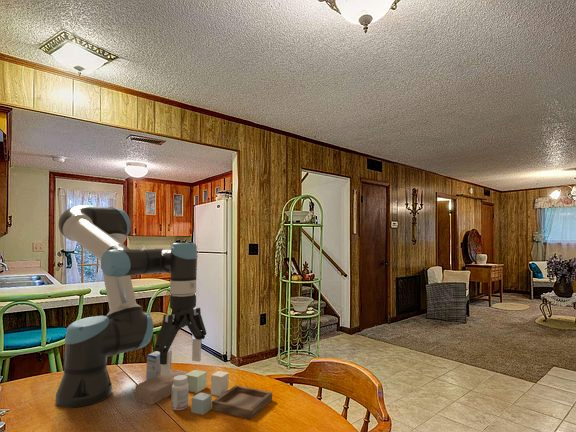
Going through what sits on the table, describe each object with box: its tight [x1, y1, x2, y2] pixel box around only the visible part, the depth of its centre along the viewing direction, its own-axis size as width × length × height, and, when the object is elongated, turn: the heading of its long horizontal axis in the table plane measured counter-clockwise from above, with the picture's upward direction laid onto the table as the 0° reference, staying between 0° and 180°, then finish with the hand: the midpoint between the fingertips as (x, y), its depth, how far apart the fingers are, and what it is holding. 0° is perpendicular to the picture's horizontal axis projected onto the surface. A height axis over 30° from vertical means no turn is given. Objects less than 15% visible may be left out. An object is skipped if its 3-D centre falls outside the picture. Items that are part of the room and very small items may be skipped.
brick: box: [133, 368, 189, 405], centre depth 116 cm, size 17×8×5 cm, turn 155°
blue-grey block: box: [190, 391, 213, 415], centre depth 104 cm, size 4×4×4 cm
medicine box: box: [145, 349, 173, 380], centre depth 128 cm, size 8×4×9 cm, turn 158°
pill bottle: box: [170, 375, 189, 411], centre depth 106 cm, size 5×5×8 cm
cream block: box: [210, 370, 230, 397], centre depth 115 cm, size 4×4×6 cm
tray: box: [211, 384, 273, 420], centre depth 107 cm, size 13×13×2 cm
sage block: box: [185, 369, 208, 394], centre depth 119 cm, size 5×5×5 cm
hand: (181, 367), depth 106 cm, fingers open, 13 cm apart
